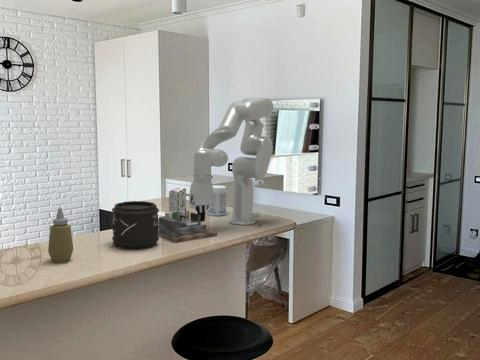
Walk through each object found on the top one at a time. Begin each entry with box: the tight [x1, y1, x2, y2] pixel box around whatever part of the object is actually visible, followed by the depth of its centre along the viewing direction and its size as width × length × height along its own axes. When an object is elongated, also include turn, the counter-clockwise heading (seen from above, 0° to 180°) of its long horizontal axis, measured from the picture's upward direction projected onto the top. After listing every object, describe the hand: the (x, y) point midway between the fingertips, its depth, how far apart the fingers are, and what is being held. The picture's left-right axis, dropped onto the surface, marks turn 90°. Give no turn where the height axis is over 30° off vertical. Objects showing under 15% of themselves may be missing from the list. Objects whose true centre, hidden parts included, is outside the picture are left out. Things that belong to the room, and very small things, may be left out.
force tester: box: [158, 209, 218, 244], centre depth 199 cm, size 21×16×9 cm
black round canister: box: [110, 200, 160, 251], centre depth 183 cm, size 18×18×16 cm
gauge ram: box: [179, 212, 202, 228], centre depth 202 cm, size 7×9×7 cm
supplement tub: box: [207, 184, 227, 217], centre depth 244 cm, size 10×10×15 cm
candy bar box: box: [168, 187, 187, 213], centre depth 219 cm, size 11×5×16 cm, turn 168°
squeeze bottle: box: [47, 207, 74, 263], centre depth 159 cm, size 8×8×18 cm
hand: (201, 220), depth 204 cm, fingers closed
